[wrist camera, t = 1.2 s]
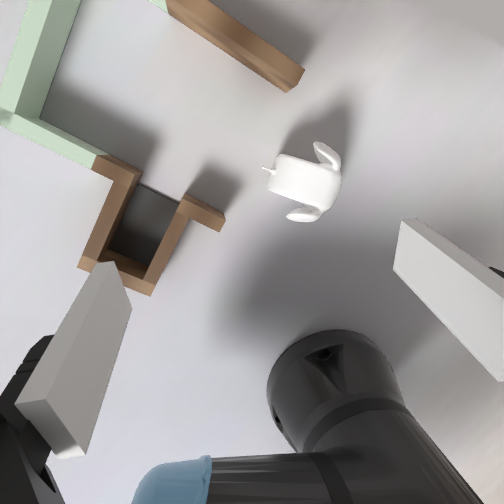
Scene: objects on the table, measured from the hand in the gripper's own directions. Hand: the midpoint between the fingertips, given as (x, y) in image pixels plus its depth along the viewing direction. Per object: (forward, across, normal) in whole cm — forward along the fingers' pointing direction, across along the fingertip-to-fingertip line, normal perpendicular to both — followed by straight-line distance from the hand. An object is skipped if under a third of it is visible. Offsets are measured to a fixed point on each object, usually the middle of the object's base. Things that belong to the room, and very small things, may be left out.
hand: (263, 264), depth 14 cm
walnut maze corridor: (+17, +5, -1) cm, 17 cm away
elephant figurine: (+17, -5, +2) cm, 18 cm away
